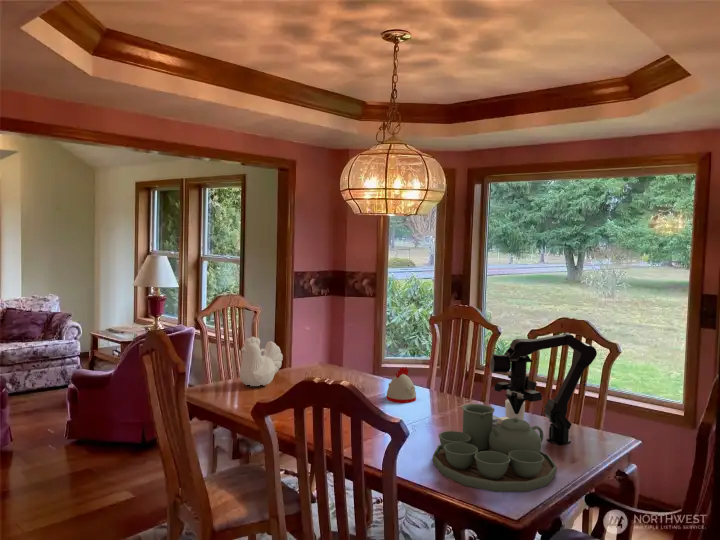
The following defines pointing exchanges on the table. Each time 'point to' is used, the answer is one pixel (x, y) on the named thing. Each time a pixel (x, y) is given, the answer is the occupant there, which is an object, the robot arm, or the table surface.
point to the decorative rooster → (259, 362)
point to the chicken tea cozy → (401, 388)
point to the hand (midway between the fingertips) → (516, 413)
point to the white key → (501, 420)
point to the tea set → (494, 453)
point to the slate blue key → (495, 418)
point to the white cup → (510, 411)
